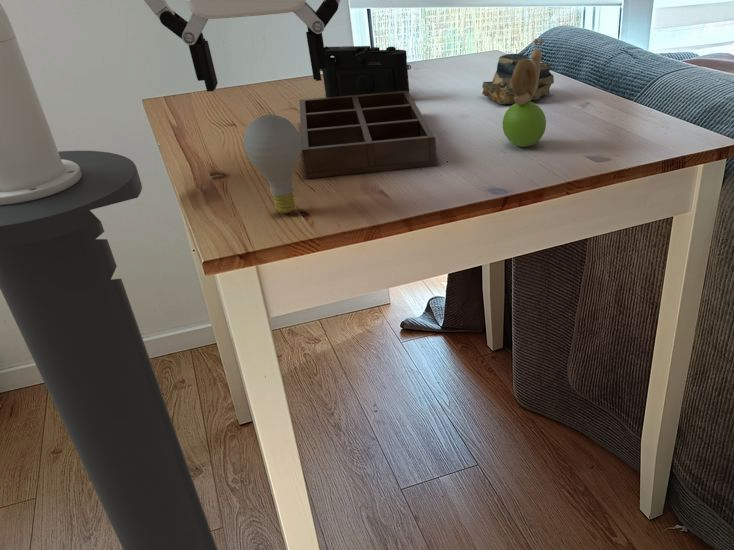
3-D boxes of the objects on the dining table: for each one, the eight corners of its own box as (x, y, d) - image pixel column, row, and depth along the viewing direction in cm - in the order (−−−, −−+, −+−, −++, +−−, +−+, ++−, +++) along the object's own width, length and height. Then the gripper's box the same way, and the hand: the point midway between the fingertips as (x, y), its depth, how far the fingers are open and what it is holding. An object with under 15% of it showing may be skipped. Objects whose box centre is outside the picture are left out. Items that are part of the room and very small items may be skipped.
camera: (417, 91, 112) (413, 37, 107) (411, 102, 106) (407, 47, 102) (331, 92, 113) (323, 39, 109) (320, 104, 107) (312, 49, 103)
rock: (478, 98, 107) (477, 59, 104) (525, 88, 111) (525, 50, 108) (512, 110, 101) (512, 69, 98) (560, 98, 105) (562, 59, 102)
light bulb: (297, 198, 75) (280, 104, 69) (322, 213, 71) (306, 115, 66) (250, 212, 72) (229, 115, 67) (274, 228, 69) (253, 127, 63)
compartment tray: (306, 178, 80) (301, 149, 78) (303, 124, 98) (299, 99, 97) (436, 165, 82) (435, 137, 81) (409, 114, 101) (407, 90, 99)
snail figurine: (555, 140, 89) (559, 40, 82) (533, 155, 84) (536, 50, 78) (518, 134, 91) (519, 36, 85) (494, 148, 87) (494, 46, 80)
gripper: (327, -145, 59) (355, 66, 69) (115, -134, 57) (175, 83, 66) (331, -150, 53) (361, 82, 63) (94, -138, 50) (163, 102, 60)
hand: (265, 82), depth 64 cm, fingers open, 9 cm apart
